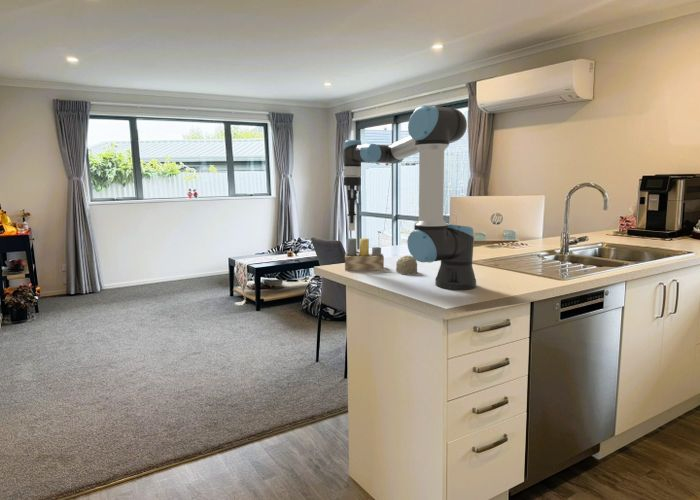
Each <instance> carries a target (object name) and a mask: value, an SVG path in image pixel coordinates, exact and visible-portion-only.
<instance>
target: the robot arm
mask: <svg viewBox="0 0 700 500" xmlns="http://www.w3.org/2000/svg"><path fill="white" fill-rule="evenodd" d="M467 127H468V122H467V118H466V116H465V115H464V113H463V112H462V111H460V110H458V109H456V108H453V107H444V106H437V105H433V104H432V105H431V104H430V105H420V106H419V107H417V108H415V110H413V113H412V114H411V115H410V117H409V120H408V124H407V129H408V131H407V132H408V134H409V135H408V136H406V137H404V138H401V139H400V140H397V141H395V142H393V143H391V144H377V143H362V141H361V140H358V139H357V140H356V139H347V140H345V141H344V143H343V145H344V146H343V168H342V172H343V176H344V177H343V186H345V187H347V186H349V189H347V200H348V202H349V203H348V207H349V208H348V213H347V217H348V231H355V228H356V227H355V226H356V225H355V224H356V223H355V222H356V216H357V213H356V211H355V208H356V203H355V202H356V200H357V189H356V188H355V187H360V186H361V185H362V184H361V183H362V177H360V176H362V163H363V164H365V163H366V164H368V163H371V164H372V163H375V164H376V163H378V164H379V163H380V164H394V165H395V164H400V163H402V162H403V161H404V160H405V158H408V157H410V156H414V155H416V154H419V155H418V156H419V158H418V163H419V165H418V168H419V169H418V219H417V221H416V222H415V223H414V229H413V231H410V233H409V235H408V237H407V242H406V243H407V249H408V251H409V253H410V256H412V257H413V258H414V259H415V260H416V262H419V263H428V264H429V263H433V262H439V261H440V265H439V268H438V270H437V271H438V272H437V275H436V277H435V283H434V284H435V286H437V287H439V288H442V289H446V290H447V289H448V290H457V291H459V290H462V291H463V290H464V291H465V290H472V289H474V288H477V279H476V275H475V271H474V268H473V257H474V255H473V254H474V241H475V240H474V239H475V236H474V229H473V227H472V226H466V225H457V224H449V223H447V222H446V221H445V220H444V195H445V194H444V192H445V191H444V188H445V185H444V184H445V181H444V180H445V151H446V149H447V148H448V147H449V146H450V144H451V143H455V142H457V141H459V140H461V139H462V138H463V136H464V135H465V133H466V130H467Z"/></svg>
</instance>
